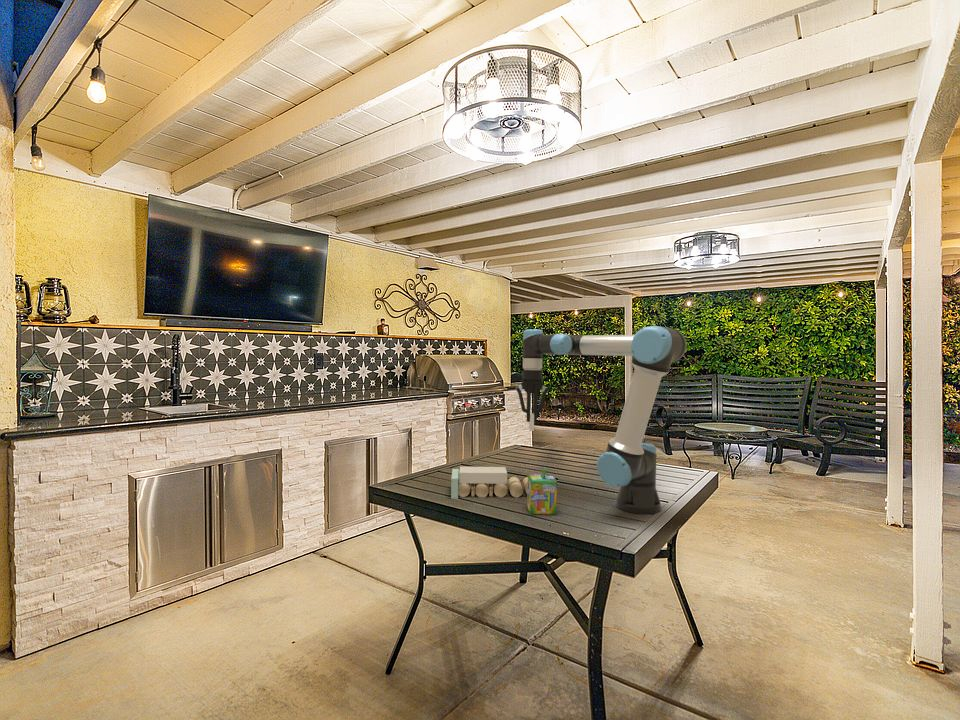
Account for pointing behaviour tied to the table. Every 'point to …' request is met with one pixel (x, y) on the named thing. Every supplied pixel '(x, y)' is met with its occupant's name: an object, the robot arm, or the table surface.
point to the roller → (481, 489)
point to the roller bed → (496, 488)
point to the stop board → (454, 483)
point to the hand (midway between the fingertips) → (531, 430)
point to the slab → (483, 475)
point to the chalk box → (542, 493)
